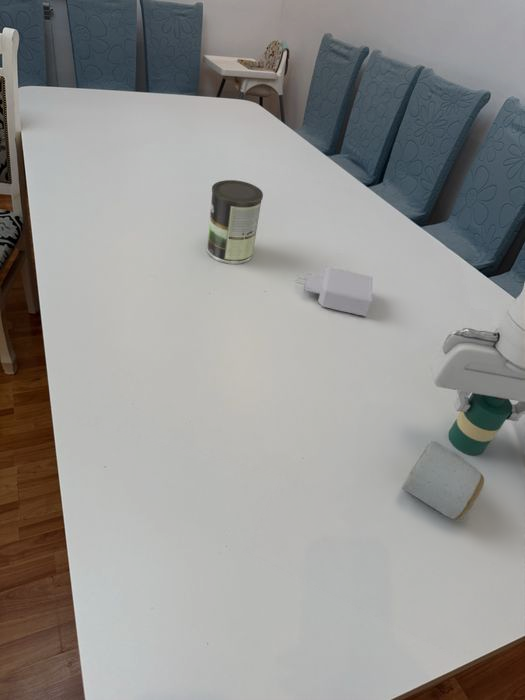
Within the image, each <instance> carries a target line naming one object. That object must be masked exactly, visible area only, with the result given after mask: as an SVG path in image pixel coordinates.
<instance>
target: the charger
mask: <svg viewBox="0 0 525 700" xmlns="http://www.w3.org/2000/svg"><path fill="white" fill-rule="evenodd" d="M296 279H298V280H295V282H294V283H295V284H296V283H297V284H300V285H304V289H303V290H304V291H305V292H308V293H309V292H310V293H314V294H318V300H317V303H318V304H319V305H320V306H321V307H322V308H327V309H331V310H337V311H340V312H344V313H349V314H353V315H358V316H362V317H367V314H368V312H369V309H370V307H371V303H372V299H373V276H370V275H367V274H361V273H356V272H353V271H348V270H343V269H340V268H335V267H327V268H325V269H324V272H323V275H322V276H319V275H315V274H312V273H311V274H310V273H307V275H306V277H303V276H300V275H299V276H298V275H297V276H296ZM301 280H303V281H301ZM304 281H305V282H304Z"/></svg>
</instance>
